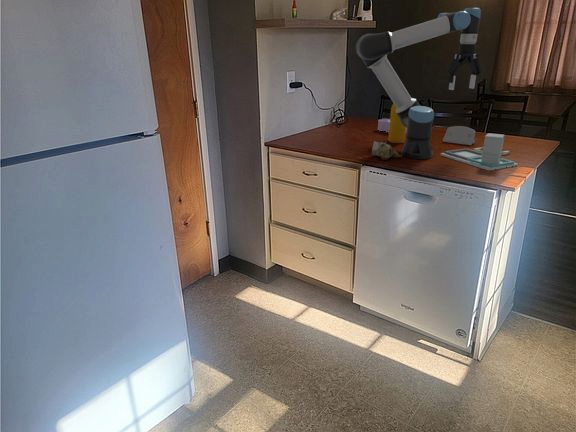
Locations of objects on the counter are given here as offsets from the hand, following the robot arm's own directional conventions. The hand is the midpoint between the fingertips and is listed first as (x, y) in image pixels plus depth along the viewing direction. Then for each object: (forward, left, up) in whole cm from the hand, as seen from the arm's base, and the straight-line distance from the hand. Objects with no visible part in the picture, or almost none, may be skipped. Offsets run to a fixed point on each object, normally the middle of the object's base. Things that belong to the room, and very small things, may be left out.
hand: (461, 89), depth 218 cm
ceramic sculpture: (-44, +1, -31) cm, 54 cm away
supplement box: (-6, -30, -30) cm, 43 cm away
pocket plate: (-6, -22, -31) cm, 38 cm away
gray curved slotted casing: (+16, +12, -31) cm, 37 cm away
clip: (0, +51, -31) cm, 60 cm away
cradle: (+11, -14, -31) cm, 36 cm away
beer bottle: (-15, +28, -31) cm, 44 cm away
